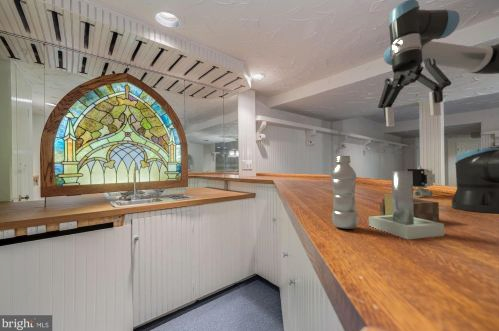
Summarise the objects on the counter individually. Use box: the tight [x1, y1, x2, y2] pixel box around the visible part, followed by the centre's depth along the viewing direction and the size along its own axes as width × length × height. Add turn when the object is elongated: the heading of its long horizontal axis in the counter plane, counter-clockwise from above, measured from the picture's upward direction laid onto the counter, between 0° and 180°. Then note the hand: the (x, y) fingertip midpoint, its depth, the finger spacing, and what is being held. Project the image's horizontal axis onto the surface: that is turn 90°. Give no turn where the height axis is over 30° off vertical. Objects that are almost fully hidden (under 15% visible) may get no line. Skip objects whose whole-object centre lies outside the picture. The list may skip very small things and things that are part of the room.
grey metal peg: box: [390, 170, 414, 225], centre depth 52 cm, size 4×4×15 cm
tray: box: [368, 215, 445, 240], centre depth 52 cm, size 11×11×3 cm
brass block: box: [383, 192, 393, 215], centre depth 62 cm, size 2×3×8 cm
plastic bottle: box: [330, 155, 359, 230], centre depth 55 cm, size 6×7×20 cm
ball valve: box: [406, 165, 436, 198], centre depth 112 cm, size 18×8×18 cm, turn 124°
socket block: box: [379, 198, 440, 223], centre depth 63 cm, size 13×10×6 cm
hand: (410, 121), depth 62 cm, fingers open, 13 cm apart
